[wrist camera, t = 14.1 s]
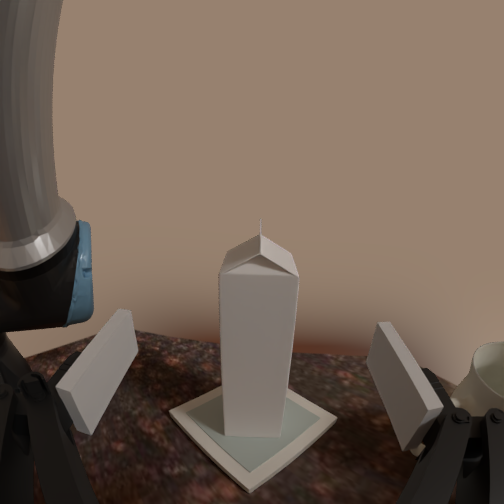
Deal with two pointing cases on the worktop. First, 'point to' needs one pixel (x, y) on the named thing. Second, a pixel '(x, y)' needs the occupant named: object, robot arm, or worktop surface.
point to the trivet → (251, 448)
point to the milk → (256, 336)
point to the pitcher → (480, 384)
